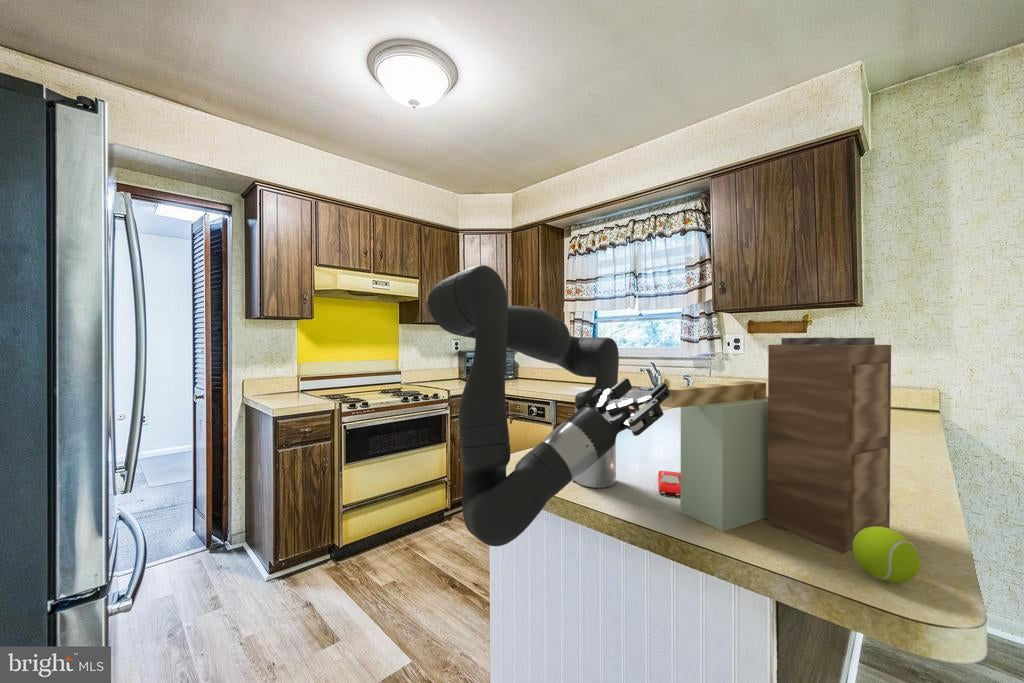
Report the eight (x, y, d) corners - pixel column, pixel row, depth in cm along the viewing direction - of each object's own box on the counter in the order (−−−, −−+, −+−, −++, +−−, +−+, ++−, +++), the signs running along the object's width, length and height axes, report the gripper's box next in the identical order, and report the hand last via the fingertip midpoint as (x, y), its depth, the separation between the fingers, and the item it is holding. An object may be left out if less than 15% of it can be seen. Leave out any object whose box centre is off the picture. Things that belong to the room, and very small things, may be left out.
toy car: (683, 500, 88) (683, 485, 88) (657, 497, 90) (657, 482, 90) (682, 481, 100) (682, 468, 100) (658, 479, 102) (658, 465, 101)
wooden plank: (675, 408, 72) (675, 390, 72) (657, 405, 75) (657, 387, 75) (766, 398, 82) (766, 382, 82) (746, 395, 86) (746, 380, 86)
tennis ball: (934, 590, 56) (934, 538, 56) (892, 597, 55) (892, 543, 55) (878, 563, 63) (878, 516, 63) (839, 568, 62) (840, 520, 62)
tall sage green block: (722, 531, 74) (722, 406, 73) (680, 512, 82) (680, 399, 81) (779, 513, 81) (780, 399, 80) (736, 497, 89) (736, 394, 88)
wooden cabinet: (846, 554, 66) (848, 338, 65) (767, 523, 77) (768, 337, 76) (892, 535, 72) (894, 337, 71) (813, 508, 83) (814, 337, 82)
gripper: (597, 432, 58) (672, 368, 64) (542, 415, 70) (609, 363, 77) (618, 476, 60) (689, 410, 66) (561, 451, 72) (625, 398, 79)
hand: (646, 385), depth 71 cm, fingers open, 8 cm apart
